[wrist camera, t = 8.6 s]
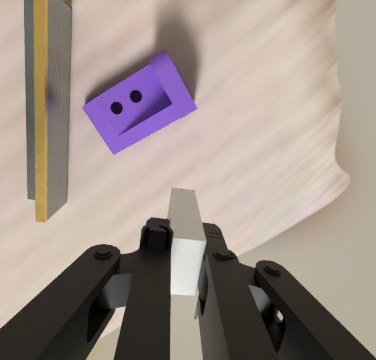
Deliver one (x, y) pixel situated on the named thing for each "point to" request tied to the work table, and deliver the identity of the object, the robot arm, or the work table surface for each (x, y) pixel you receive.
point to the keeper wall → (47, 102)
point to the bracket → (141, 104)
